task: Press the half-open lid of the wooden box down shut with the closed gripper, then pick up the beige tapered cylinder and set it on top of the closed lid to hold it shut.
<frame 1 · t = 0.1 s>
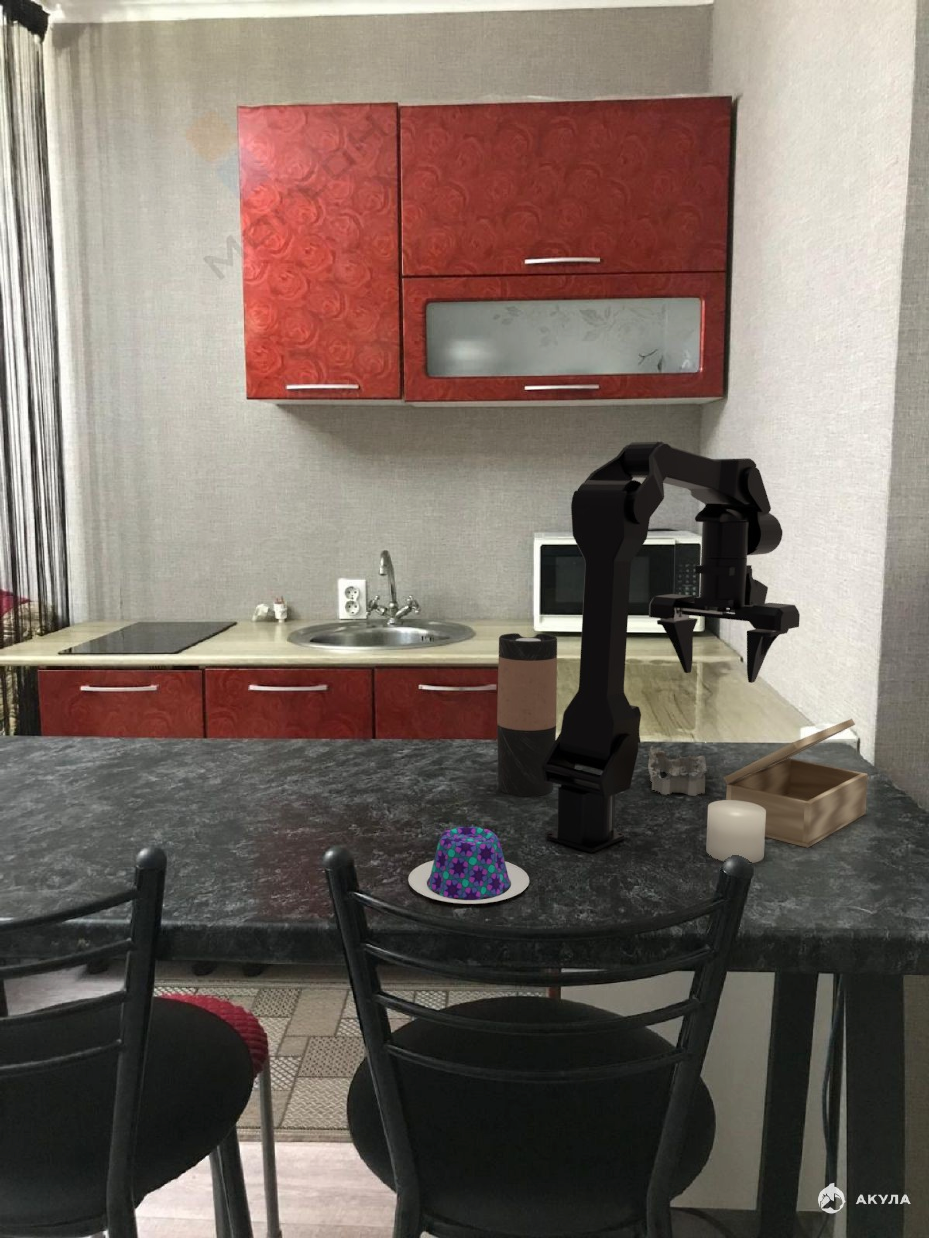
hand: (718, 677, 129), 15 cm above the table, fingers open, 9 cm apart
beige tapered cylinder: (734, 853, 107), on the table
travel mug: (525, 789, 129), on the table
egg carton: (676, 786, 132), on the table
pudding: (468, 887, 98), on the table
box lid: (790, 750, 117), point 8 cm above the table, hinge at 35.0°
storage box: (796, 819, 118), on the table
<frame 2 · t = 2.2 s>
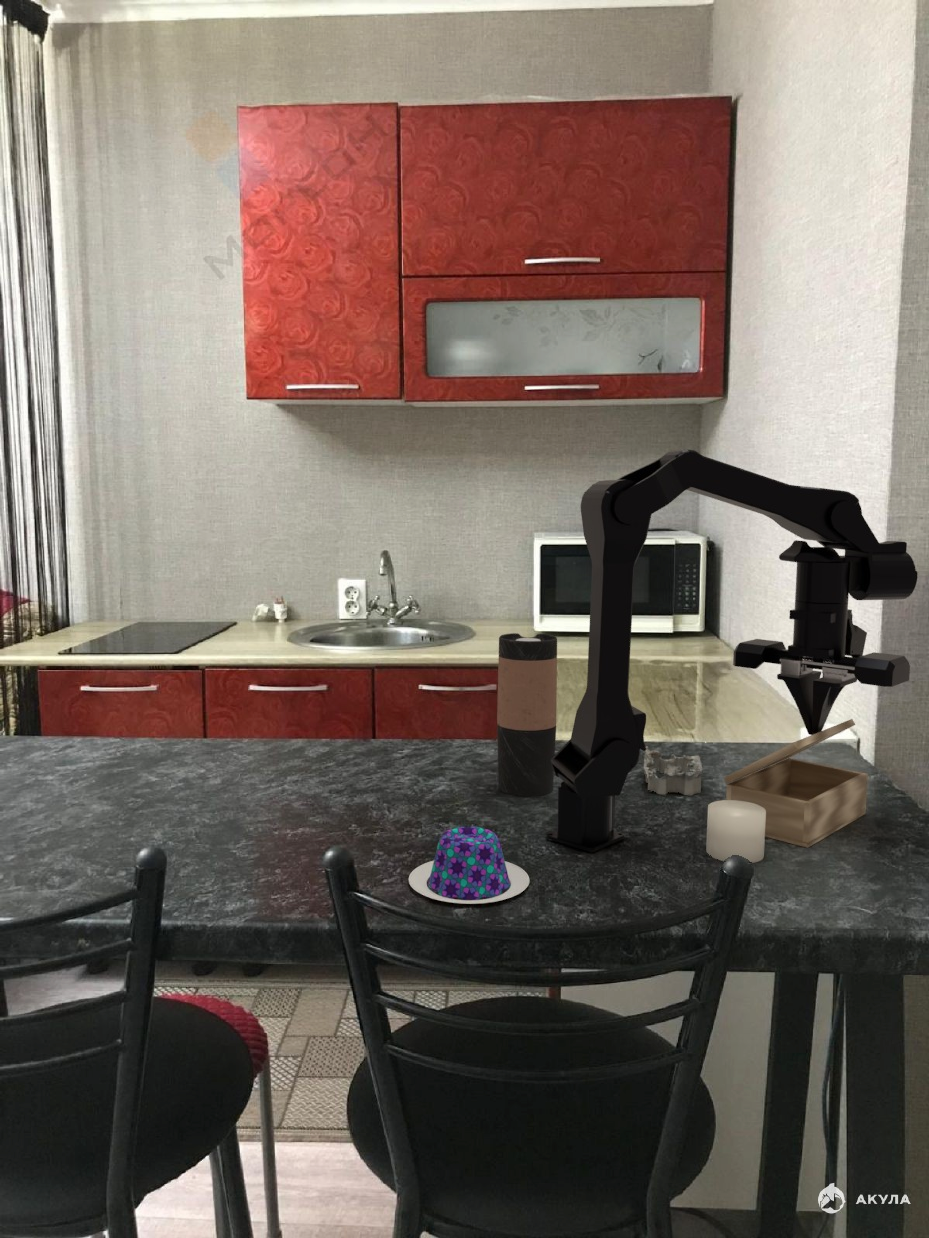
hand: (814, 734, 115), 11 cm above the table, fingers closed
box lid: (790, 750, 117), point 8 cm above the table, hinge at 34.8°, touching gripper
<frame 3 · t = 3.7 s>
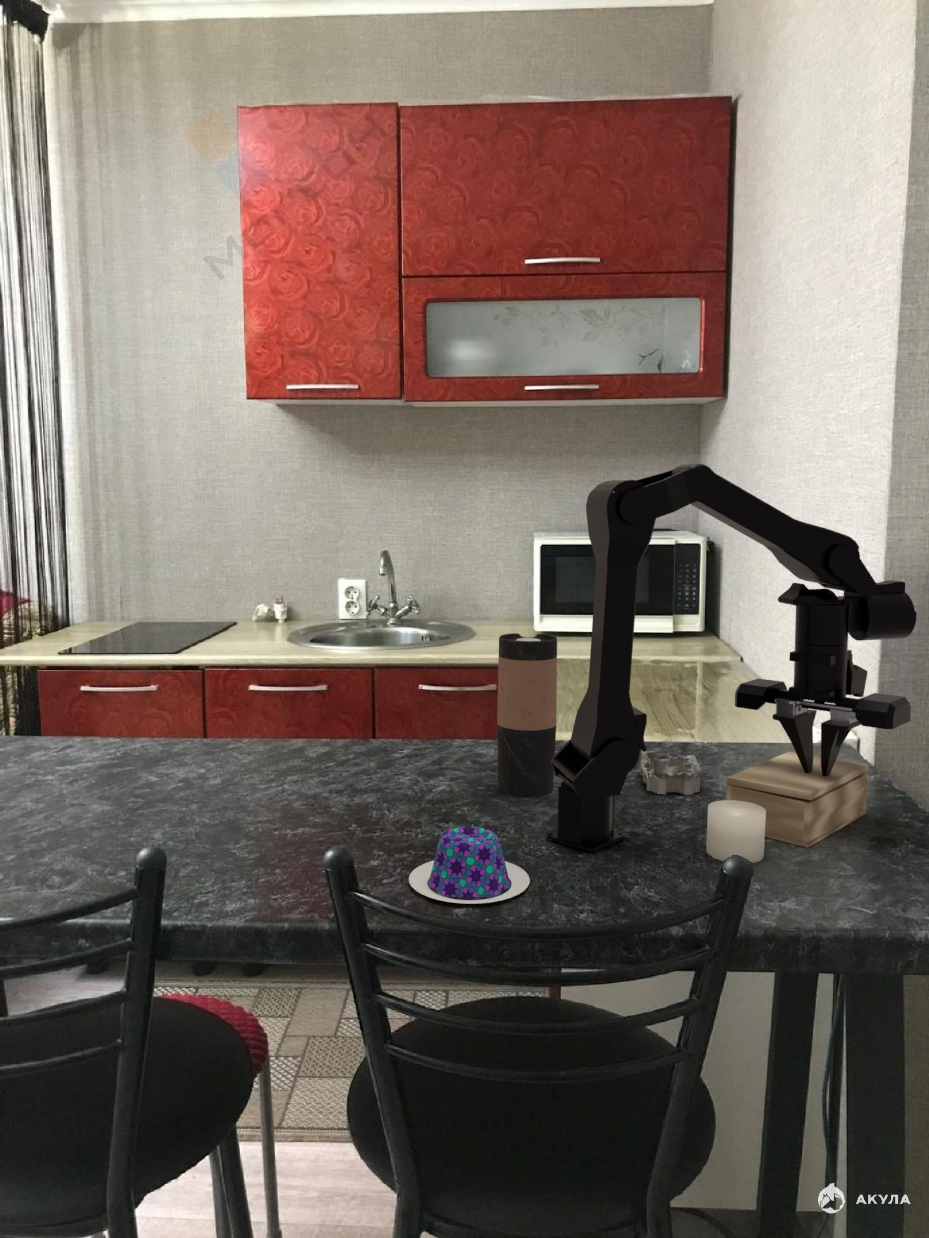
hand: (817, 774, 115), 6 cm above the table, fingers closed on box lid, 2 cm apart
box lid: (798, 773, 117), point 6 cm above the table, hinge at 1.9°, touching gripper
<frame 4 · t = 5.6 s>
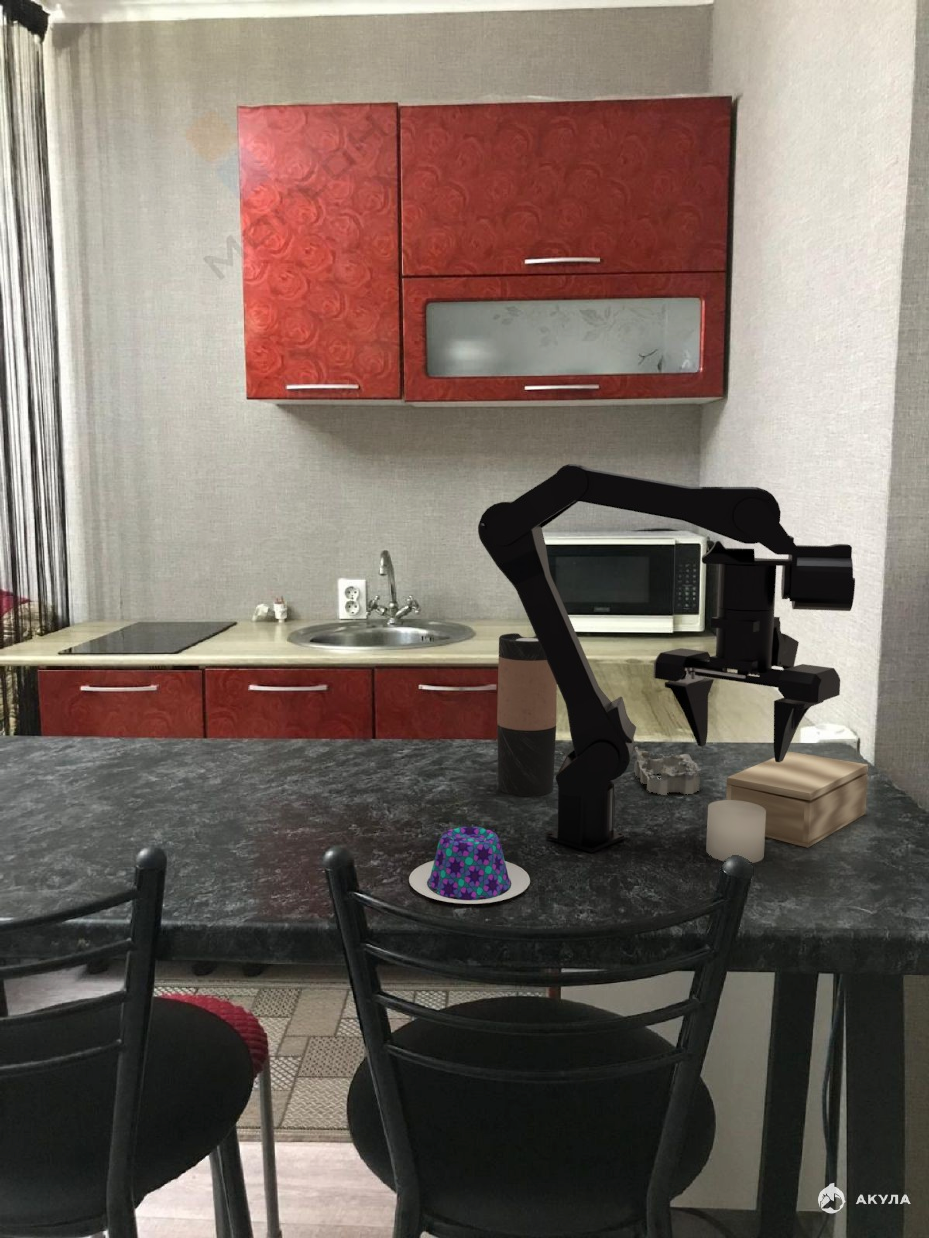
hand: (739, 753, 105), 11 cm above the table, fingers open, 9 cm apart
box lid: (798, 774, 117), point 6 cm above the table, hinge at 1.6°
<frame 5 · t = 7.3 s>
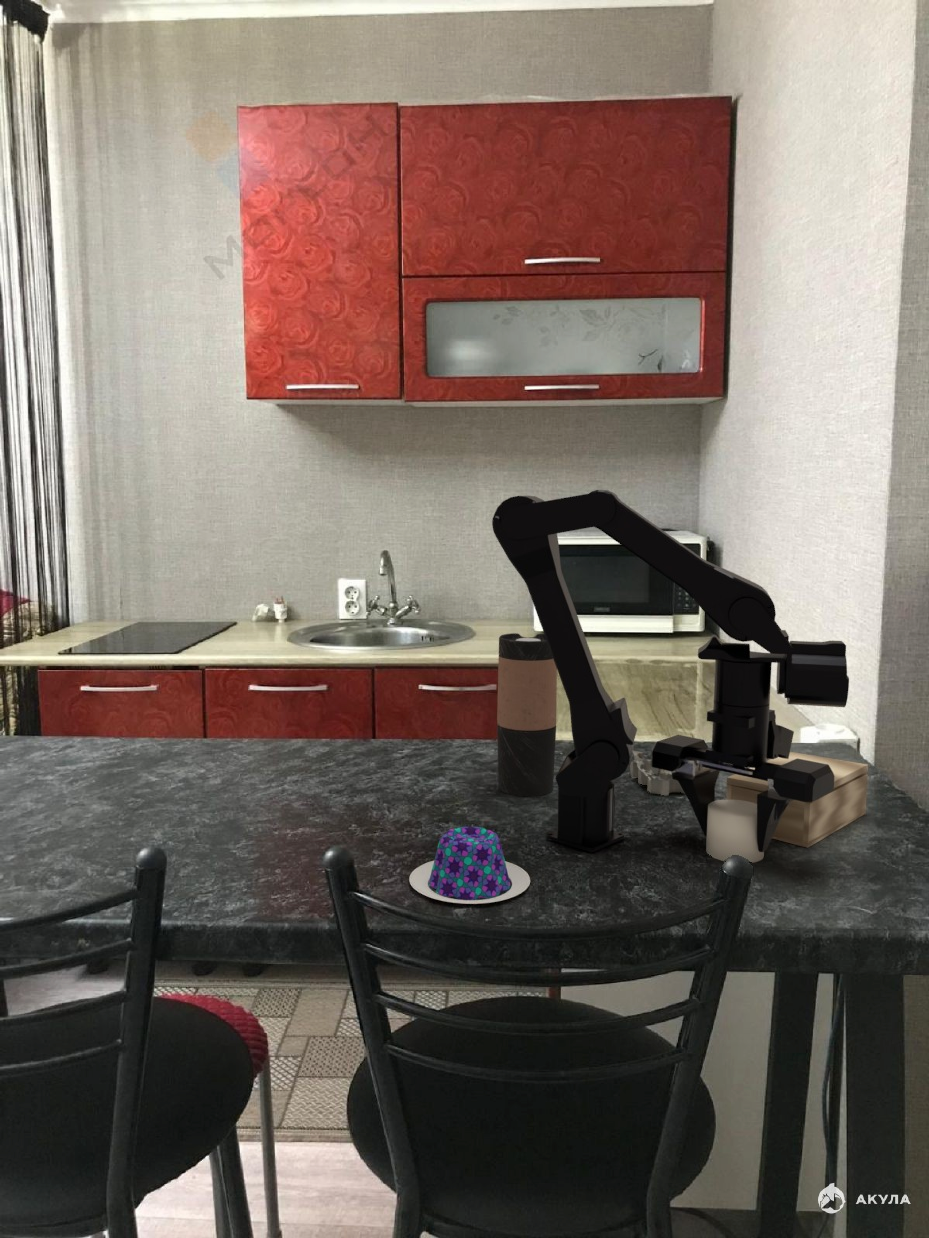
hand: (735, 843, 107), 1 cm above the table, fingers closed on beige tapered cylinder, 6 cm apart
beige tapered cylinder: (734, 852, 107), on the table, touching gripper
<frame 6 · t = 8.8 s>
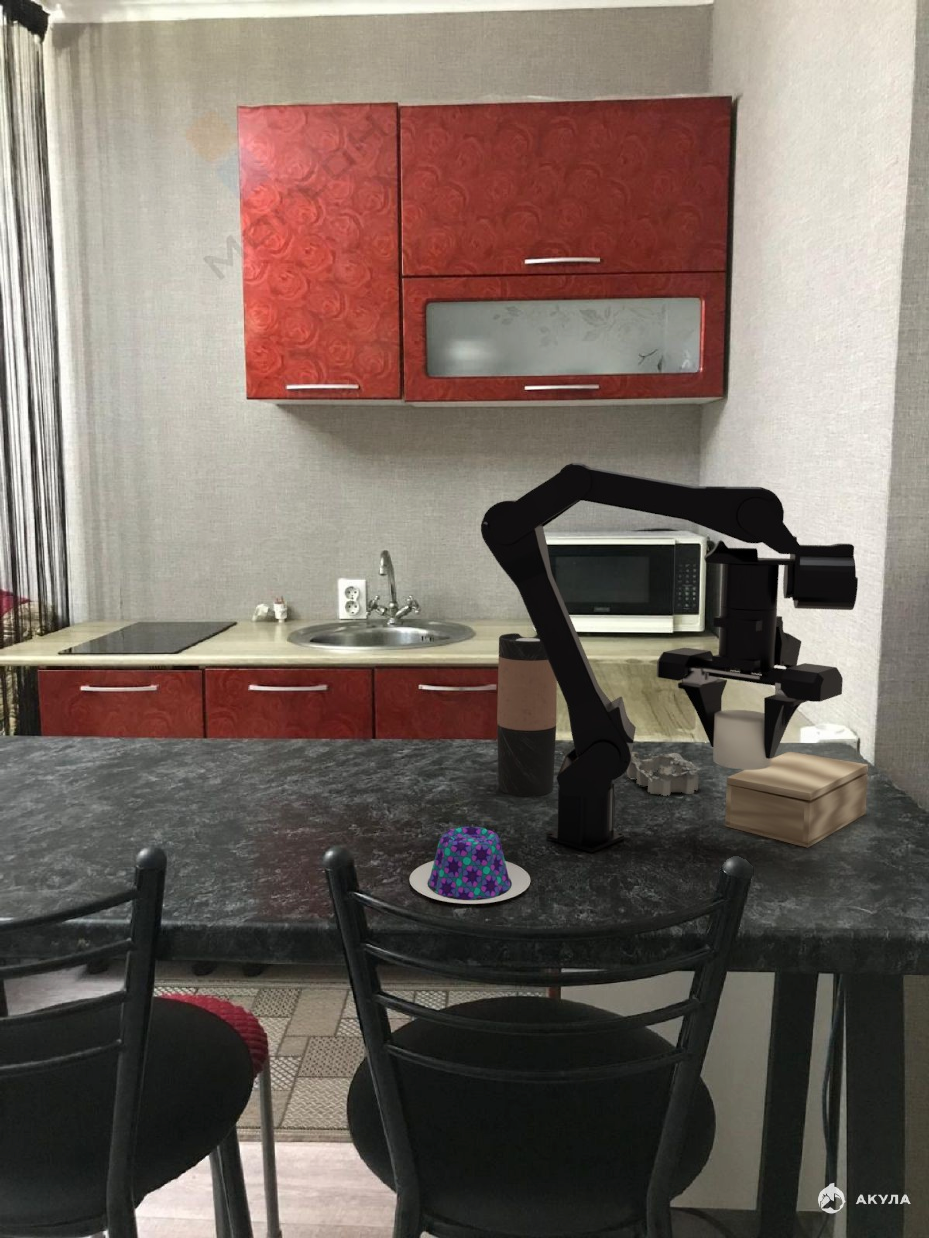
hand: (742, 752, 106), 11 cm above the table, fingers closed on beige tapered cylinder, 6 cm apart
beige tapered cylinder: (741, 761, 106), point 10 cm above the table, touching gripper
when the fingers open (8 cm above the table, at t = 10.5 s): beige tapered cylinder drops 2 cm, resting on box lid.
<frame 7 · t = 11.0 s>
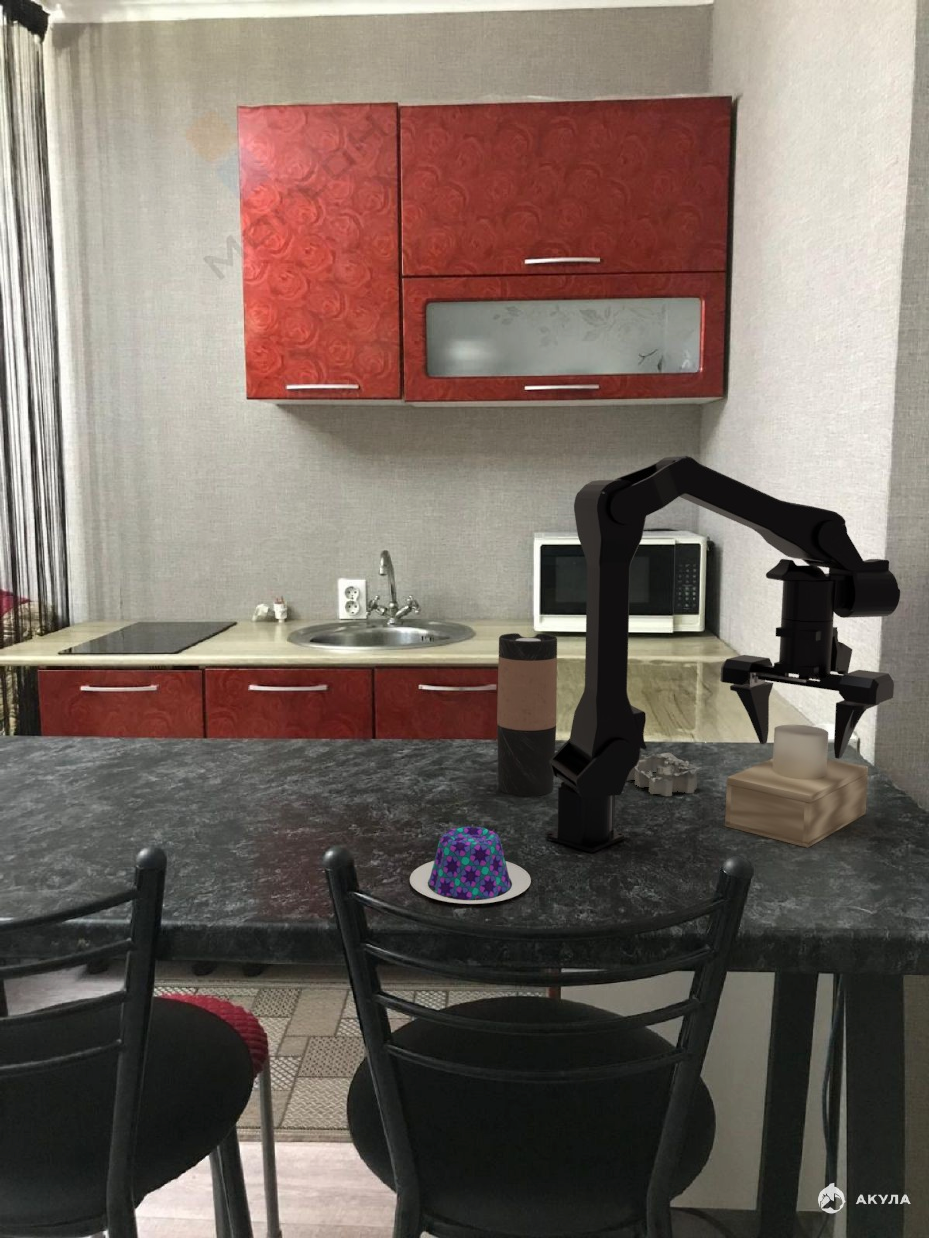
hand: (800, 750, 116), 8 cm above the table, fingers open, 9 cm apart
beige tapered cylinder: (799, 772, 117), point 6 cm above the table, touching box lid
box lid: (798, 775, 117), point 5 cm above the table, hinge at 0.0°, touching beige tapered cylinder
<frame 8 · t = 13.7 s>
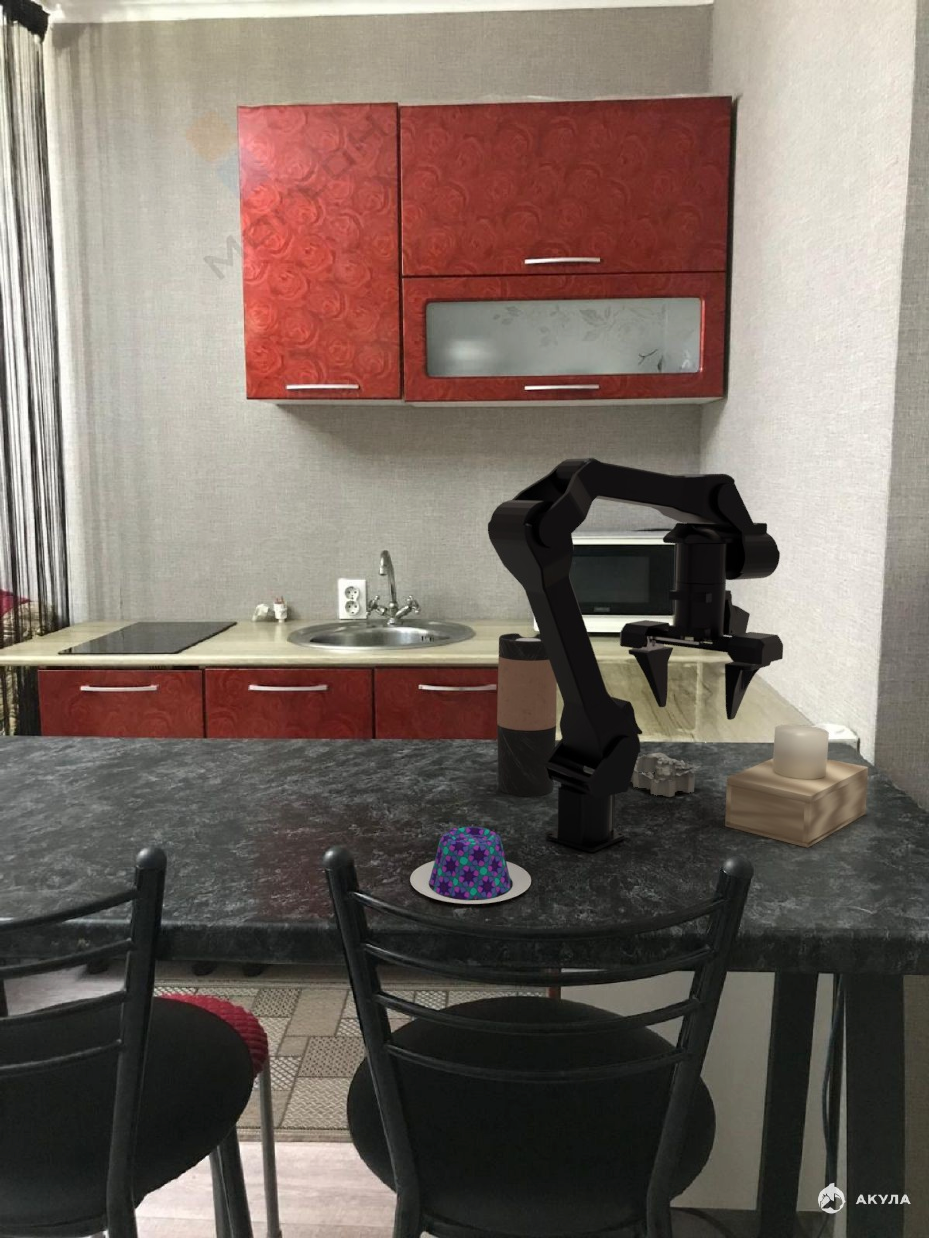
hand: (695, 712, 118), 13 cm above the table, fingers open, 9 cm apart
at the end: box lid at +0° (first picture: +35°); beige tapered cylinder inside the target area on the storage box (0.0 cm from its centre), point 5.9 cm above the storage box's base; beige tapered cylinder touching box lid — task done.
